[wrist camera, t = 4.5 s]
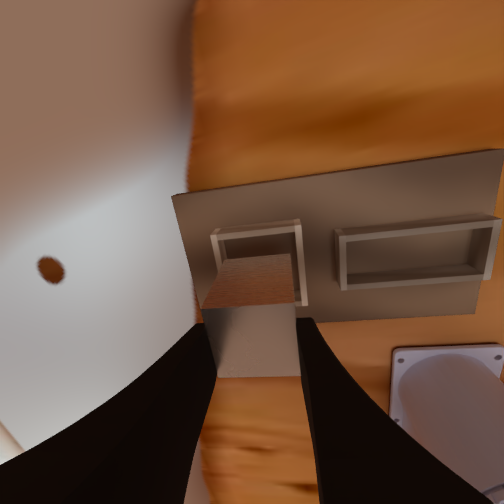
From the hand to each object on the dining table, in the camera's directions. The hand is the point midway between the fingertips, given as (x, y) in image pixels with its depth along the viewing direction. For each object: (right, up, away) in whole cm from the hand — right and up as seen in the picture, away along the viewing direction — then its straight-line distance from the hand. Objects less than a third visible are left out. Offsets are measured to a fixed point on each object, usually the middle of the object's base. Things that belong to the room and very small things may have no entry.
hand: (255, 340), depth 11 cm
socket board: (+5, +4, +8) cm, 10 cm away
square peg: (0, +2, +4) cm, 4 cm away
